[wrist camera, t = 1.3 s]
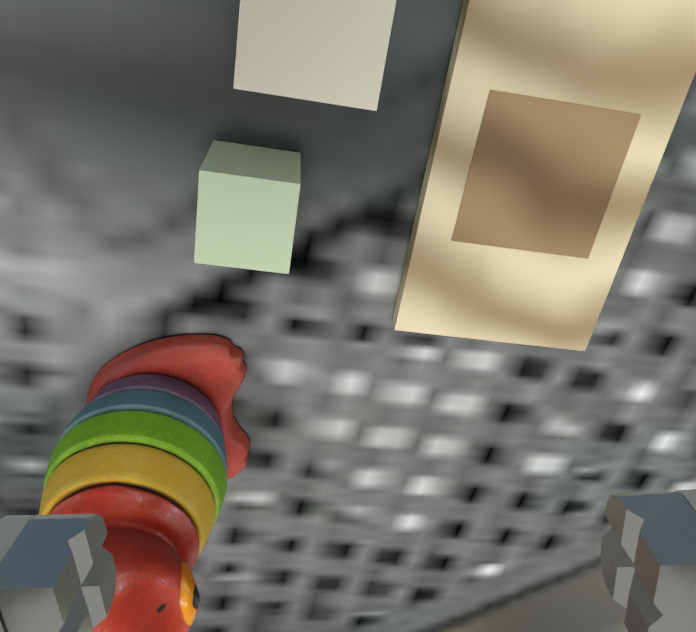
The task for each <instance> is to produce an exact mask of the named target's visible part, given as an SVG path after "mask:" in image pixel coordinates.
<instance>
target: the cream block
mask: <svg viewBox="0 0 696 632" xmlns="http://www.w3.org/2000/svg"><path fill="white" fill-rule="evenodd" d="M395 5H396V0H240V8H239V21H238V34H237V48H236V61H235V74H234V87H233V89H240V90H246V91H252V92H259V93H265V94H271V95H278V96H284V97H291V98H297V99H303V100H310V101H316V102H322V103H329V104H335V105H341V106H348V107H354V108H361V109H367V110H373V111H377V106H378V100H379V95H380V89H381V83H382V78H383V72H384V67H385V61H386V55H387V50H388V44H389V39H390V33H391V27H392V22H393V16H394V11H395Z"/></svg>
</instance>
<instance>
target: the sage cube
mask: <svg viewBox="0 0 696 632" xmlns="http://www.w3.org/2000/svg"><path fill="white" fill-rule="evenodd" d="M300 185H301V153H299V152H292V151H285V150H278V149H271V148H264V147H257V146H251V145H244V144H237V143H230V142H223V141H216V140H214V141H213V143H212V145H211V147H210V149H209V151H208V153H207V155H206V157H205V159H204V161H203V163H202V165H201V167H200V169H199V183H198V201H197V219H196V237H195V256H194V263H201V264H209V265H217V266H226V267H234V268H242V269H251V270H259V271H267V272H276V273H284V274H289V269H290V261H291V253H292V246H293V238H294V231H295V223H296V215H297V208H298V200H299V193H300Z"/></svg>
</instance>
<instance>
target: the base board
mask: <svg viewBox="0 0 696 632" xmlns="http://www.w3.org/2000/svg"><path fill="white" fill-rule="evenodd" d="M695 72H696V0H463V5H462V9H461V14H460V18H459V23H458V27H457V32H456V36H455V41H454V45H453V50H452V54H451V58H450V63H449V67H448V72H447V76H446V81H445V85H444V90H443V94H442V99H441V103H440V108H439V112H438V117H437V121H436V126H435V130H434V135H433V139H432V144H431V148H430V152H429V157H428V161H427V166H426V170H425V175H424V179H423V184H422V188H421V193H420V197H419V202H418V206H417V211H416V215H415V220H414V224H413V229H412V233H411V238H410V242H409V246H408V251H407V255H406V260H405V264H404V269H403V273H402V278H401V282H400V287H399V291H398V296H397V300H396V305H395V309H394V314H393V318H392V322H393V326H394V330H399V331H408V332H417V333H426V334H435V335H444V336H453V337H462V338H471V339H480V340H489V341H498V342H507V343H516V344H525V345H534V346H543V347H552V348H561V349H571V350H580V351H585V350H586V348H587V345H588V343H589V340H590V338H591V335H592V332H593V330H594V327H595V325H596V322H597V320H598V317H599V315H600V312H601V310H602V307H603V305H604V302H605V300H606V297H607V295H608V292H609V290H610V287H611V284H612V282H613V279H614V277H615V274H616V272H617V269H618V267H619V264H620V262H621V259H622V257H623V254H624V252H625V249H626V247H627V244H628V242H629V239H630V236H631V234H632V231H633V229H634V226H635V224H636V221H637V219H638V216H639V214H640V211H641V209H642V206H643V204H644V201H645V199H646V196H647V194H648V191H649V188H650V186H651V183H652V181H653V178H654V176H655V173H656V171H657V168H658V166H659V163H660V161H661V158H662V156H663V153H664V151H665V148H666V146H667V143H668V140H669V138H670V135H671V133H672V130H673V128H674V125H675V123H676V120H677V118H678V115H679V113H680V110H681V108H682V105H683V103H684V100H685V98H686V95H687V92H688V90H689V87H690V85H691V82H692V80H693V77H694V75H695Z"/></svg>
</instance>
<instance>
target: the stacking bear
mask: <svg viewBox="0 0 696 632" xmlns="http://www.w3.org/2000/svg"><path fill="white" fill-rule="evenodd" d="M243 358H244V353H243V352H242V351H241V350H240V349H239V348H237V347H236V346H234V345H233V344H232V342H231V341H229V340H228V339H226V338H223V337H220V336H216V335H182V336H172V337H167V338H163V339H158V340H154V341H151V342H147V343H144V344H142V345H139V346H137V347H134V348H132V349H130V350H128V351H126V352H124V353H122V354H120V355H118V356H117V357H115V358H114V359H113V360H111V361H110V362H108V363H107V364H106V365H105V366H104V367H102V368H101V370H100V371H99V372H98V373H97V375H96V376H95V377H94V379H93V381H92V383H91V386H90V389H89V392H88V396H87V404H86V406H85V407H84V408H83V409H82V410H81V411H80V412H79V413H78V414H77V415H76V417H75V418H74V419H73V420H72V422H71V423H70V424H69V426H68V427H67V428H66V430H65V431H64V433H63V434H62V436H61V437H60V439H59V441H58V443H57V445H56V447H55V449H54V451H53V453H52V456H51V459H50V462H49V465H48V468H47V472H46V476H45V480H44V487H43V495H42V499H41V504H40V512H39V515H50V514H98V515H100V516H101V517H103V519H104V523H105V526H106V530H107V533H108V534H107V536H106V538H105V540H104V542H103V544H102V546H103V547H104V548H105V549H106V550H107V551H108V552H110V553H111V554H112V555H113V558H114V562H115V567H116V587H115V593H114V599H113V603H112V605H111V608H110V610H109V613H108V616H107V617H106V618H105V619H104V620H103V621H101V622H100V623H99V624H98V625H97V626H95V627H94V628H93V629H94V632H188V630H189V629H190V627H191V625H192V623H193V621H194V619H195V616H196V613H197V610H198V603H199V601H200V599H199V597H200V596H199V593H198V589H197V586H196V583H195V580H194V577H193V574H192V572H191V569H192V567H193V566H194V564H195V562H196V561H197V558H198V557H199V555H200V553H201V551H202V550H203V548H204V546H205V544H206V542H207V540H208V537H209V535H210V532H211V530H212V527H213V526H214V524H215V522H216V520H217V517H218V515H219V512H220V509H221V506H222V503H223V500H224V496H225V492H226V485H227V479H230V478H232V477H234V476H235V475H236V474H237V473H238V472H240V471H241V470H242V469H243V468H244V467H245V466H246V464H247V462H248V459H249V453H248V451H249V448H250V441H249V439H248V437H247V435H246V434H245V433H244V432H243V431H242V429H241V428H240V427H239V426H238V424H237V422H236V420H235V418H234V415H233V412H232V399H233V397H234V395H235V393H236V392H237V390H238V388H239V387H240V385H241V384H242V382H243V379H244V377H245V374H246V366H245V364H244V362H243Z"/></svg>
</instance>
